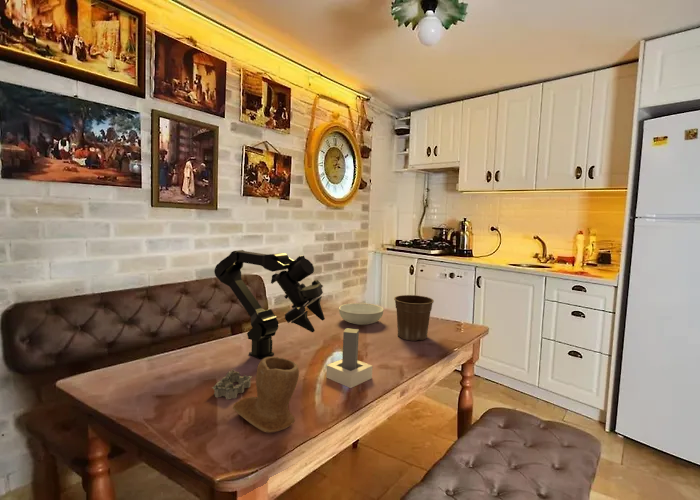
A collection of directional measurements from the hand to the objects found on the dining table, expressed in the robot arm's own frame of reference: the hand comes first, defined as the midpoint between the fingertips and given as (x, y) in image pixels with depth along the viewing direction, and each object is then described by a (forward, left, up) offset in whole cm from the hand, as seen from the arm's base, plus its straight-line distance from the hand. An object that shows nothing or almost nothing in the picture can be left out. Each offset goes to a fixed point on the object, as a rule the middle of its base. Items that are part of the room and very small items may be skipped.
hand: (318, 325), depth 129 cm
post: (-1, -15, -13) cm, 20 cm away
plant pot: (+49, -6, -13) cm, 51 cm away
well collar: (-1, -15, -13) cm, 20 cm away
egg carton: (-31, +2, -14) cm, 34 cm away
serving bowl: (+49, +22, -13) cm, 56 cm away
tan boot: (-33, -17, -13) cm, 39 cm away
